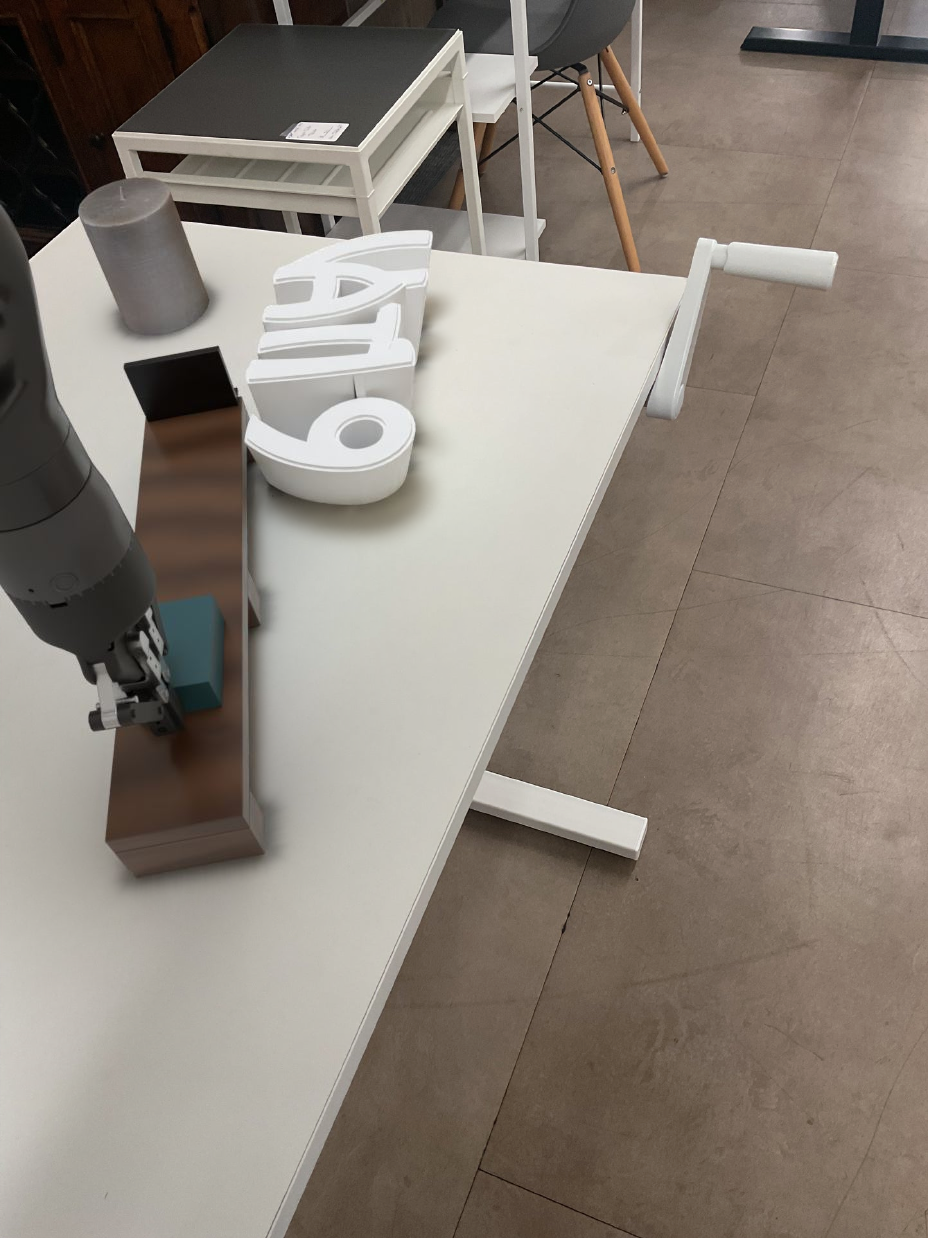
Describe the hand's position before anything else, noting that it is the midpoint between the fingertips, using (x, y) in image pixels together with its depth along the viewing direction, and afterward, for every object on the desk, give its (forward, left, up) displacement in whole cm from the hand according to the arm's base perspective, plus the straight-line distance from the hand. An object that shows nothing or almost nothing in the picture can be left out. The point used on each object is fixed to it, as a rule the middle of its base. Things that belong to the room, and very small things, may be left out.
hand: (171, 725), depth 68 cm
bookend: (+18, +31, -1) cm, 36 cm away
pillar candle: (+26, +57, -8) cm, 63 cm away
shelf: (+7, +13, -7) cm, 16 cm away
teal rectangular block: (+3, +5, -1) cm, 6 cm away
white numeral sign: (+32, +27, -7) cm, 43 cm away
